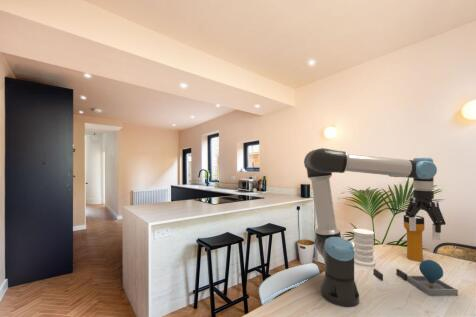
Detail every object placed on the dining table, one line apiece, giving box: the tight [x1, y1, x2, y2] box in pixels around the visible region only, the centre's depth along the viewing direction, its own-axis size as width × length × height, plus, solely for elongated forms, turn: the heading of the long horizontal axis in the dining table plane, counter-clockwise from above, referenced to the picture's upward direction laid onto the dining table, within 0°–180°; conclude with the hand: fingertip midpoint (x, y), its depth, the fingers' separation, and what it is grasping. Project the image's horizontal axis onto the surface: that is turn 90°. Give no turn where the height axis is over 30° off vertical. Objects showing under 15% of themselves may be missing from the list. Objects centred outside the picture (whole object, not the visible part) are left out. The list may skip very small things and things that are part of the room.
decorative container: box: [352, 228, 376, 268], centre depth 131 cm, size 12×12×18 cm
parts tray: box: [407, 275, 459, 297], centre depth 103 cm, size 13×13×2 cm
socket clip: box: [373, 268, 408, 282], centre depth 113 cm, size 13×6×3 cm, turn 90°
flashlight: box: [403, 214, 425, 262], centre depth 136 cm, size 10×26×10 cm
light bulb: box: [419, 259, 444, 287], centre depth 103 cm, size 8×8×12 cm
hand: (423, 234), depth 106 cm, fingers open, 13 cm apart
